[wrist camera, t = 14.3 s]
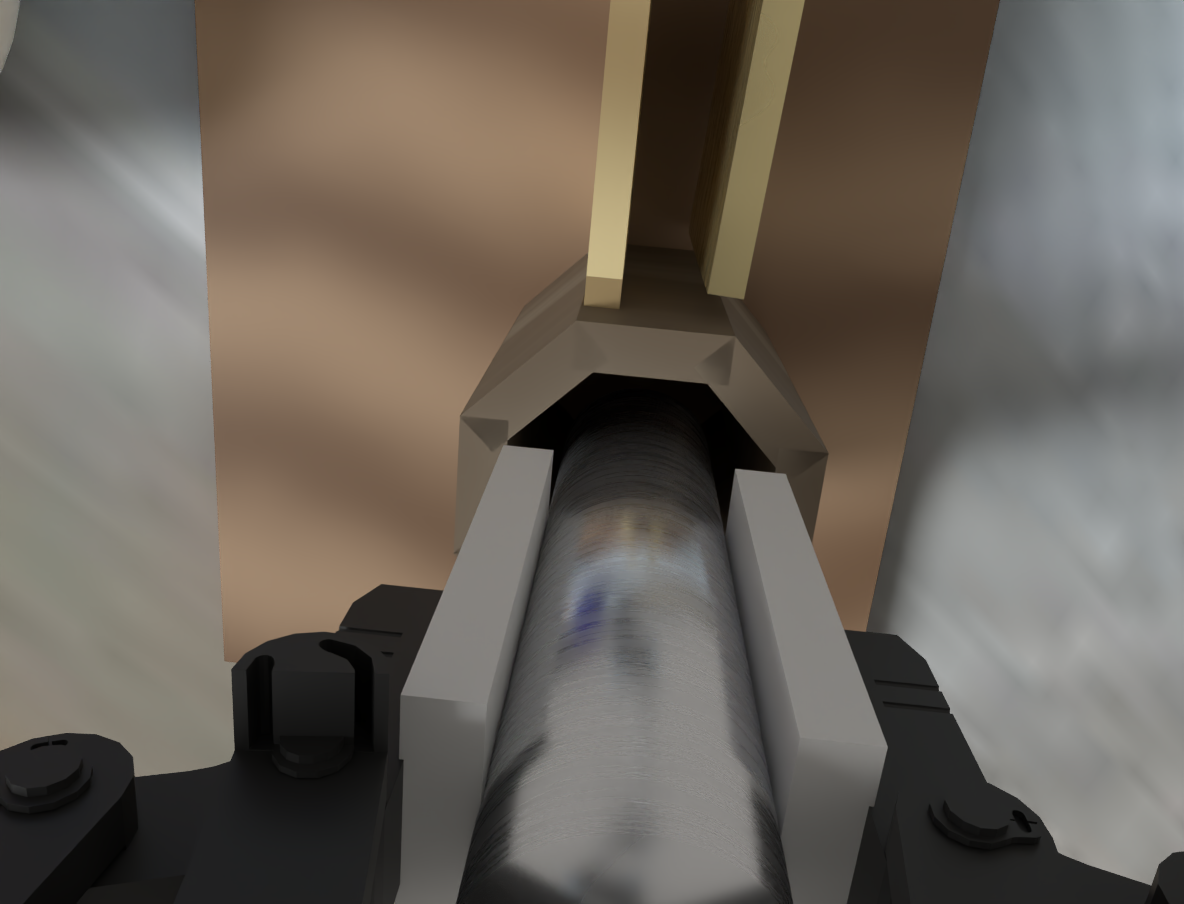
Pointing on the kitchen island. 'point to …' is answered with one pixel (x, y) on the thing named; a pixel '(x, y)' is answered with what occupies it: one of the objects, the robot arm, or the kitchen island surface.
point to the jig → (551, 268)
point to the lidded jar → (7, 27)
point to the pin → (630, 690)
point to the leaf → (741, 139)
